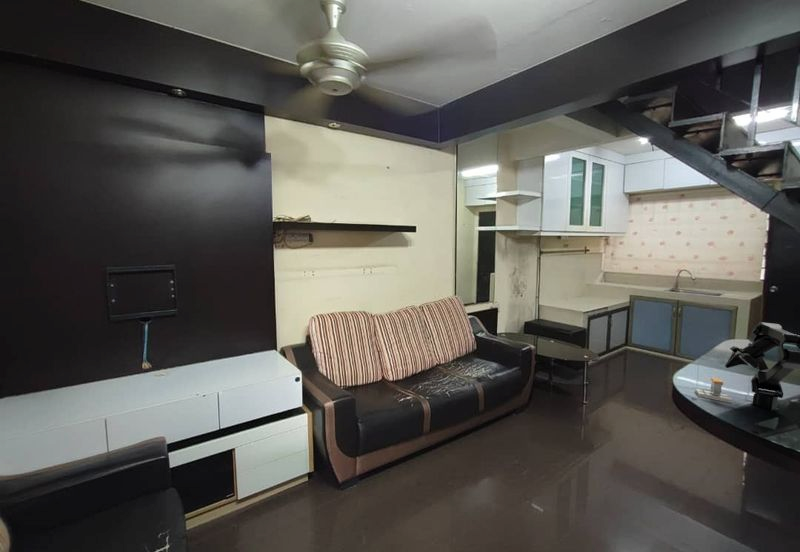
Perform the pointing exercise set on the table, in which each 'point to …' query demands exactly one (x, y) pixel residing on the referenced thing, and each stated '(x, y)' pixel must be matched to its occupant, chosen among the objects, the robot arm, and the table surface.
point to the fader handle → (716, 386)
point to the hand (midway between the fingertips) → (725, 367)
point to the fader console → (709, 395)
